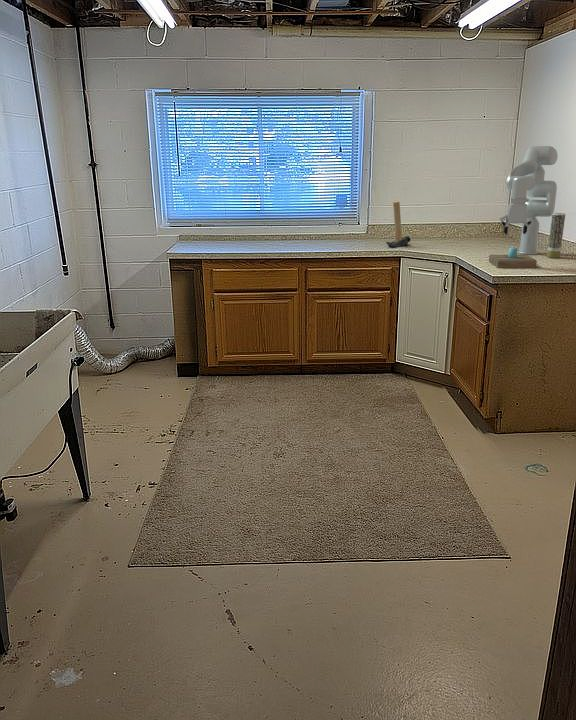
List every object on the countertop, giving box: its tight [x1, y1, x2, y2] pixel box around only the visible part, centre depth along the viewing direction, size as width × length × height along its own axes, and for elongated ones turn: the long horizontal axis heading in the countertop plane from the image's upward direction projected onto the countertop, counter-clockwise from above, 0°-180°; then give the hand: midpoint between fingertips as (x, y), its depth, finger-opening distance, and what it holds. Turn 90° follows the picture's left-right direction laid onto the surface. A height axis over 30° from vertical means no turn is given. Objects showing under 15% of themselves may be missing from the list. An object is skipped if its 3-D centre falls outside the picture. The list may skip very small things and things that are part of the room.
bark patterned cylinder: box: [546, 212, 566, 259], centre depth 343 cm, size 7×7×25 cm
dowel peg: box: [507, 247, 519, 258], centre depth 325 cm, size 4×4×9 cm
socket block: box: [488, 254, 538, 269], centre depth 326 cm, size 20×20×4 cm
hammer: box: [385, 200, 411, 248], centre depth 394 cm, size 20×5×30 cm, turn 133°
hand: (515, 233), depth 322 cm, fingers open, 9 cm apart
